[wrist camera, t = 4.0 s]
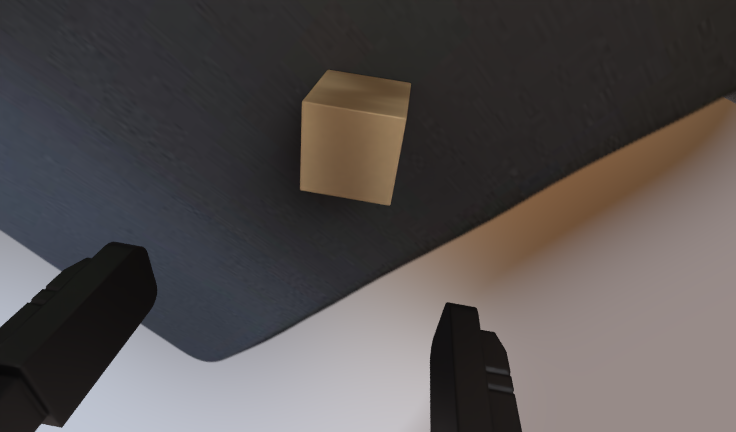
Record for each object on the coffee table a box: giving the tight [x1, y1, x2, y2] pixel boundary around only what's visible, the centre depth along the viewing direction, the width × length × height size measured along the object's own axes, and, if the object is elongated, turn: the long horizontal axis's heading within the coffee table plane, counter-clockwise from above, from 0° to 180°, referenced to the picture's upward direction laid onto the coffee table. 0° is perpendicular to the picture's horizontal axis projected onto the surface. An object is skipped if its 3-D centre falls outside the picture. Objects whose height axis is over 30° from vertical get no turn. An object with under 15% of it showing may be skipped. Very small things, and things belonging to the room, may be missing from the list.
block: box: [300, 70, 411, 206], centre depth 19 cm, size 4×4×5 cm
